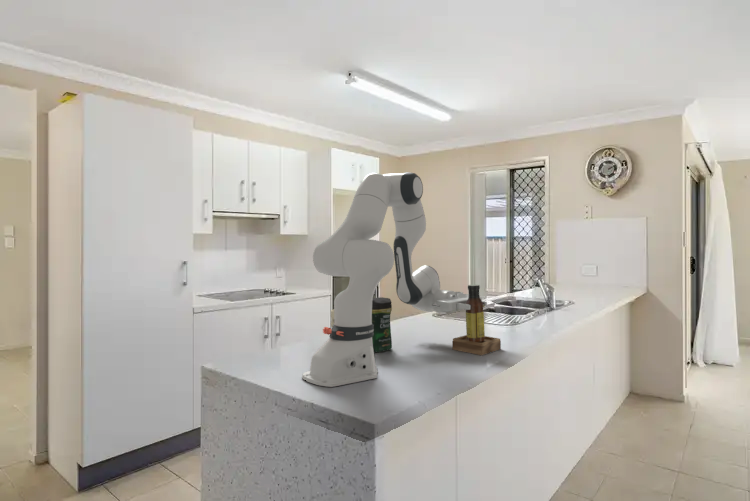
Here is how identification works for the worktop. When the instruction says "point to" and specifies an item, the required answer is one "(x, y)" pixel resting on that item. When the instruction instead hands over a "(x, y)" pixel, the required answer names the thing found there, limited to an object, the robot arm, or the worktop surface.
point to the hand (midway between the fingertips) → (478, 305)
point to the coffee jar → (381, 324)
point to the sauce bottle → (475, 316)
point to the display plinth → (476, 345)
